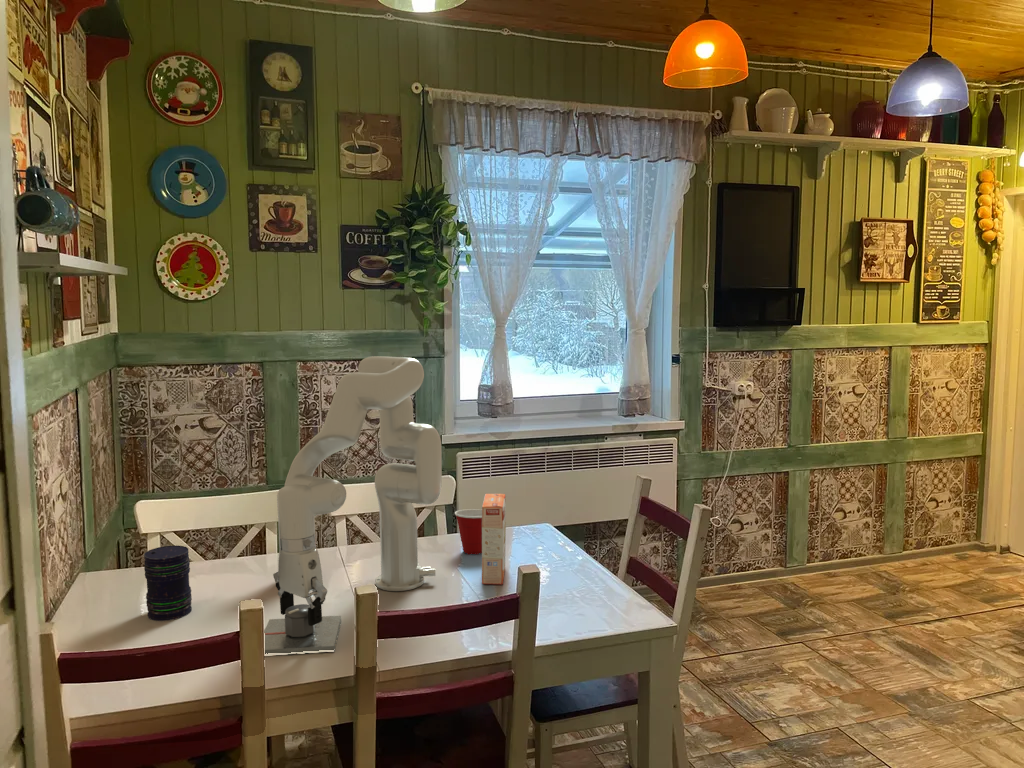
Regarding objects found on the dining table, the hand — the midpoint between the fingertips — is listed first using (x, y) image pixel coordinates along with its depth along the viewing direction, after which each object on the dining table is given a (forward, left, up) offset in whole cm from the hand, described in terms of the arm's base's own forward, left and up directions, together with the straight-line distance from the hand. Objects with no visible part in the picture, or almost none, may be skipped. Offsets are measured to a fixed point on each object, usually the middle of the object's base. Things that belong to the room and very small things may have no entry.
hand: (301, 618), depth 174 cm
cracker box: (-46, -33, -5) cm, 56 cm away
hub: (0, 0, -5) cm, 5 cm away
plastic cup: (-42, -54, -5) cm, 68 cm away
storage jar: (+33, -19, -5) cm, 38 cm away
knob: (0, 0, -3) cm, 3 cm away
